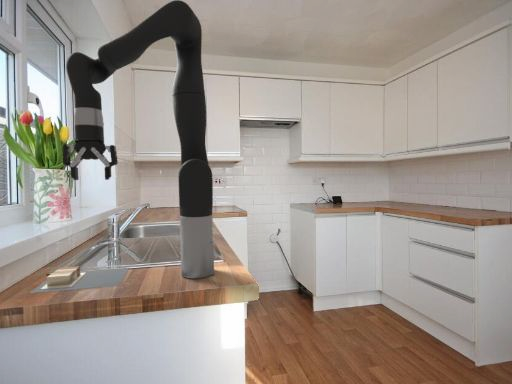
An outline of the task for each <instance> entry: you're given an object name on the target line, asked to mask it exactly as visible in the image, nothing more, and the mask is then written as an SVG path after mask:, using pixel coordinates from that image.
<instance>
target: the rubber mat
mask: <svg viewBox="0 0 512 384" xmlns="http://www.w3.org/2000/svg"><path fill="white" fill-rule="evenodd" d="M129 270H130V267H121V268H120V267H119V268H107V269H106V268H105V269H94V270H92V269H91V270H80V275H79V276H78V277H77V278H76V279H75V280H74V281H73V282H72V283H71V284H69V285H59V286H47V279H46V280H45V281H43V282H42V283H41V284H39V285H37V287H36V288H34V289H33V290H31V291H30V292H29V294H37V293H38V294H39V293H47V292H48V293H51V292H62V291H72V290H73V291H74V290H84V289H85V290H86V289H96V288H107V287H109V288H110V287H118V286H120V284H121V283H122V281H123V280H124V278H125V277H126V275H127V273H128V272H129Z"/></svg>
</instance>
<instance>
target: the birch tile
mask: <svg viewBox="0 0 512 384" xmlns="http://www.w3.org/2000/svg"><path fill="white" fill-rule="evenodd" d="M80 271H81V266H80V265H78V266H77V265H76V266H63V267H59V268H57V269H56V270H55V271H53V272H52V273H51V274H49V275H47V277H46V280H47V286H59V285H69V284H71V283H72V282H73V281H74V280H75V279H76V278H77V277H78V276H79V275H80Z"/></svg>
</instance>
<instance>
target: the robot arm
mask: <svg viewBox="0 0 512 384" xmlns="http://www.w3.org/2000/svg"><path fill="white" fill-rule="evenodd" d="M202 33H203V32H202V25H201V22H200V19H199V18H198V16H197V15H196V13H195V12H194V10H193V9H192V8H191V6H190V5H189V4H188V3H187V2H185V1H182V0H172V1H168V3H166V4H165V5H163V6H162V7H160V8H159V9H157V10H156V11H155V12H154V13H152V14H151V15H150V16H148V17H147V18H146V19H145V20H143V21H142V22H140V23H139V24H138V25H136V26H135V27H134V28H132V29H131V30H129V31H128V32H126V33H125V34H122V35H121V36H118V37H116V38H114V39H113V40H110V41H109V42H107V43H105V44H103V45H101V46H99V47H98V48H97V51H96V54H97V58H92V57H90V56H88V55H87V54H85V53H82V52H79V51H75V52H72V53H71V54H70V55H69V56H68V57H67V60H66V63H65V65H66V66H65V69H66V73H67V77H68V81H69V84H70V86H71V87H70V88H71V89H72V92H73V97H74V98H73V99H74V100H73V102H74V114H73V119H74V120H73V121H74V139H75V144H74V145H69V144H63V145H62V164H63V165H64V166H68V167H69V168H70V178H71V179H73V180H74V181H79V167H78V166H79V165H80V163H82V162H83V160H88V161H89V160H95V161H97V160H99V161H100V162H101V163H102V164H103V165H104V180H105V181H106V180H107V181H108V180H110V178H112V167H114V166H117V165H118V164H119V163H118V154H117V147H116V145H114V144H110V145H106V144H105V133H104V132H105V130H104V126H105V124H104V117H103V109H102V95H101V93H100V92H99V91H98V90H97V89H96V88H95V87H94V85H98V84H102V83H104V82H105V81H106V80H107V79H109V78H110V77H111V76H112V75H114V73H116V71H118V70H120V69H122V68H124V67H126V66H129V65H131V64H133V63H135V62H136V61H137V60H138V59H139V58H140V57H142V55H144V53H145V52H146V51H147V49H148V48H149V47H150V46H152V45H153V44H155V43H156V42H158V41H160V40H163V39H167V38H171V39H172V40H173V43H174V47H175V54H176V71H175V74H174V79H173V82H172V87H171V96H172V98H171V100H172V107H173V116H174V120H175V125H176V130H177V134H178V138H179V144H180V168H179V171H178V203H179V205H178V206H179V222H180V223H179V228H180V229H179V232H180V269H181V271H180V272H181V273H180V274H181V276H182V277H184V278H187V279H203V278H206V277H210V276H214V275H215V243H214V232H213V231H214V230H213V227H214V225H213V223H214V221H213V206H214V197H213V196H214V193H213V191H214V190H213V189H214V188H213V185H214V183H213V182H214V181H213V179H214V178H213V172H212V168H211V167H210V165H209V161H208V154H207V148H206V145H207V144H206V135H207V134H206V133H207V103H206V102H207V101H206V93H205V91H206V90H205V83H204V80H205V79H204V73H203V64H202V40H203V38H202V35H203V34H202ZM106 150H107V152H108V153H110V161H109V160H108V159H107V157H106V156H105V155H104V153H105V152H106ZM73 151H75V152H76V153H77V154H76V155H75V156H74V158H73V160H72V161H71V159H72V157H71V153H73Z"/></svg>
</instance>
